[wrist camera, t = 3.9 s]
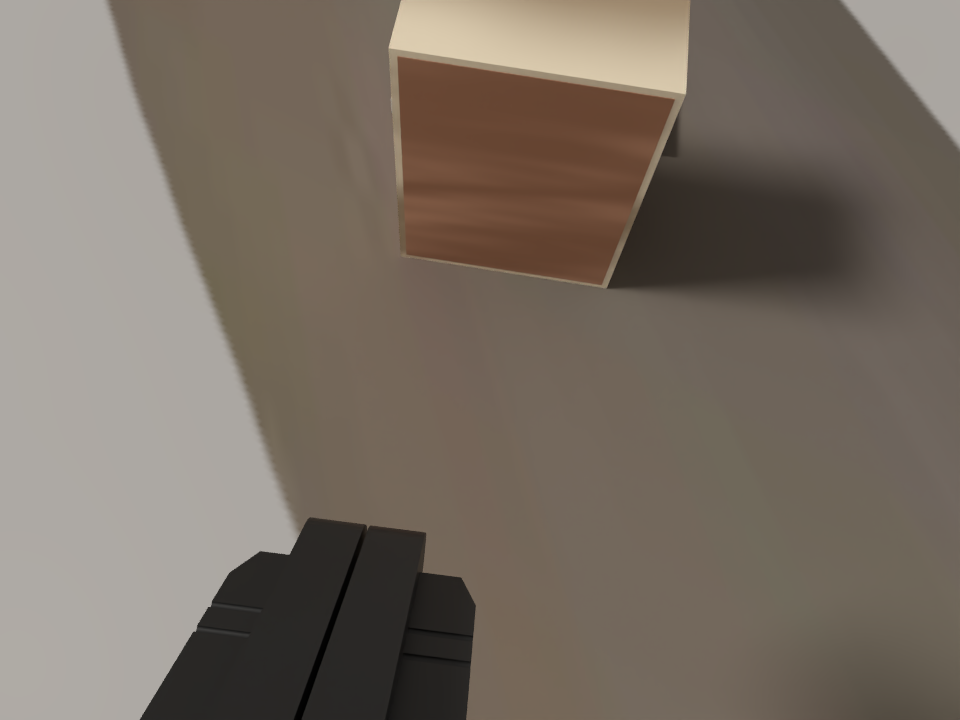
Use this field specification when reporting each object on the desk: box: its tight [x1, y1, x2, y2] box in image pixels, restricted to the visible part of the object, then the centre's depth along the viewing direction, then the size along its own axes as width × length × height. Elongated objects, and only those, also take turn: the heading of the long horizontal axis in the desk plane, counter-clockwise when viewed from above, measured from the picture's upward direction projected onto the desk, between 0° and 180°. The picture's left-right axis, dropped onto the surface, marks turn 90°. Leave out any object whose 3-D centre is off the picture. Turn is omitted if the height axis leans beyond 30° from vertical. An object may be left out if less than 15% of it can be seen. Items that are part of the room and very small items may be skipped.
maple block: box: [389, 0, 690, 288], centre depth 23 cm, size 5×7×9 cm
